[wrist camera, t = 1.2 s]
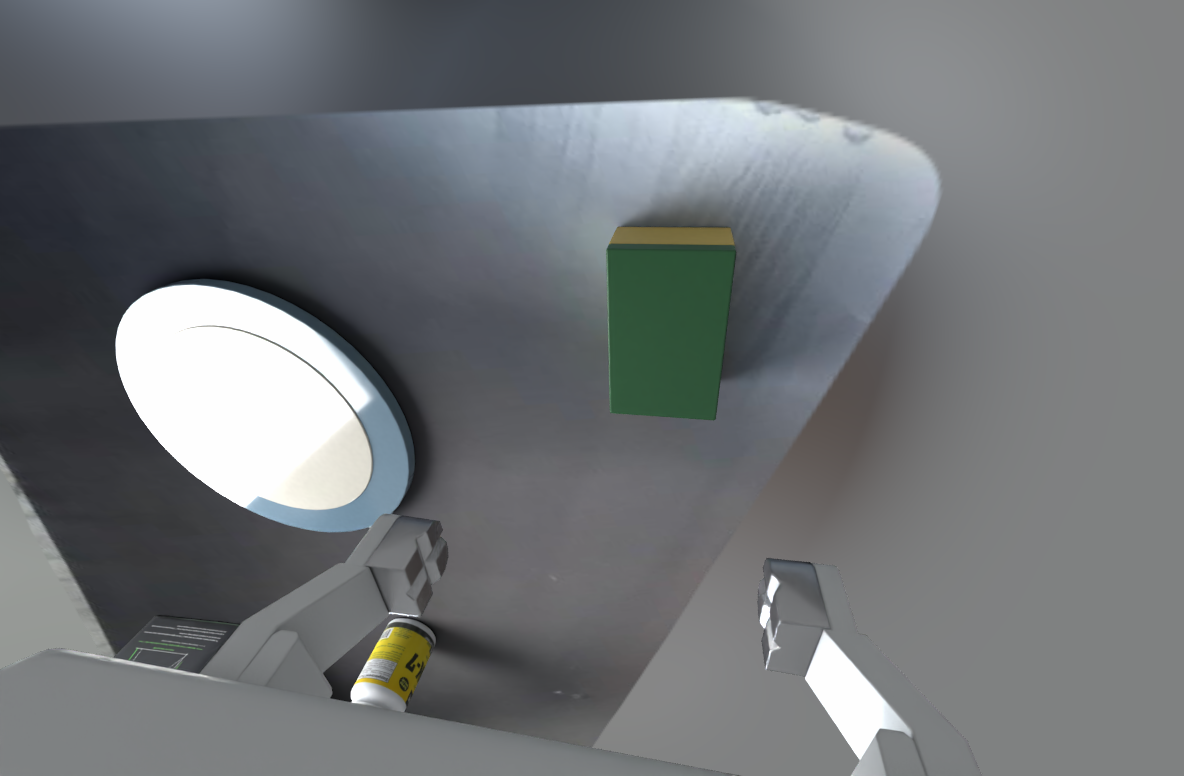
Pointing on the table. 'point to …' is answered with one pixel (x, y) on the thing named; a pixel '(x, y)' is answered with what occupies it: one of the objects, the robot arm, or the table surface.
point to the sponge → (668, 319)
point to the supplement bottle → (395, 666)
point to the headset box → (177, 643)
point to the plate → (265, 404)
